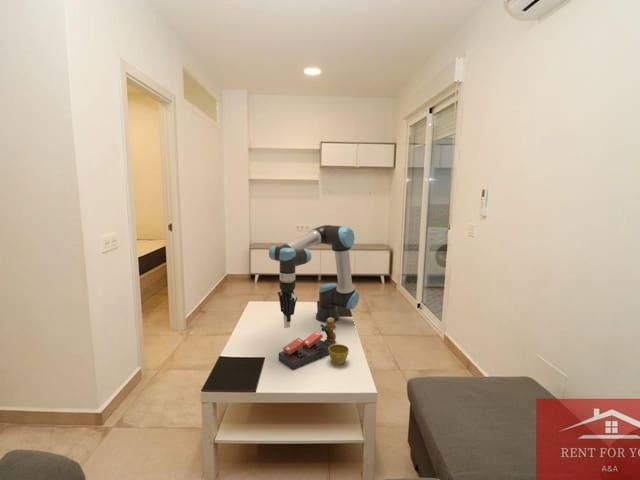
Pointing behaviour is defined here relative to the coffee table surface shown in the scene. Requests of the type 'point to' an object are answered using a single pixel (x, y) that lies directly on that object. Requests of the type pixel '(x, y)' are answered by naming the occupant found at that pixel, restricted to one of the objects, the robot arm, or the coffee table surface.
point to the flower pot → (338, 353)
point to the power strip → (305, 355)
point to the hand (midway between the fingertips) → (287, 327)
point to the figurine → (329, 331)
